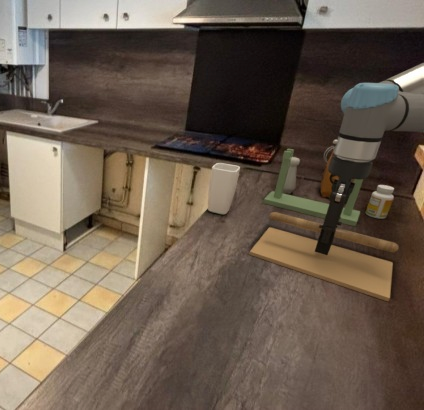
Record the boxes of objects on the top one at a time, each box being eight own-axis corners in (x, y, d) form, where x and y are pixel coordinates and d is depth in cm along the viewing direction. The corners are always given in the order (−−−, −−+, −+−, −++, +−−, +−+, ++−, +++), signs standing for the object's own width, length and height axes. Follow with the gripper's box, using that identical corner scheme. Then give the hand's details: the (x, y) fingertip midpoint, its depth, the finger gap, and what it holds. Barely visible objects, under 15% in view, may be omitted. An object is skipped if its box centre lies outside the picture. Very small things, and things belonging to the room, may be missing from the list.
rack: (358, 215, 113) (378, 161, 106) (355, 226, 106) (376, 168, 99) (271, 195, 128) (283, 145, 121) (263, 203, 121) (275, 151, 114)
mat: (391, 265, 87) (392, 262, 86) (388, 302, 74) (390, 298, 74) (268, 230, 103) (269, 227, 103) (248, 254, 91) (249, 251, 90)
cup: (203, 212, 114) (210, 167, 108) (209, 204, 119) (217, 162, 113) (226, 218, 110) (235, 172, 104) (232, 210, 116) (241, 166, 110)
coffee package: (314, 196, 128) (333, 135, 119) (319, 186, 137) (337, 129, 128) (348, 203, 123) (369, 140, 114) (350, 193, 132) (371, 133, 123)
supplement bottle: (384, 214, 115) (395, 186, 111) (387, 220, 110) (398, 191, 107) (364, 210, 117) (374, 182, 113) (365, 216, 113) (376, 187, 109)
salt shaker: (277, 187, 135) (285, 154, 130) (294, 190, 133) (303, 157, 127) (275, 192, 131) (284, 158, 125) (293, 195, 128) (302, 161, 123)
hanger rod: (396, 251, 79) (400, 242, 78) (396, 255, 77) (400, 246, 77) (270, 217, 94) (271, 209, 93) (267, 220, 93) (269, 212, 92)
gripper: (337, 148, 86) (310, 234, 95) (326, 161, 75) (298, 257, 84) (376, 153, 81) (344, 243, 91) (371, 169, 71) (335, 269, 80)
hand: (322, 250), depth 88 cm, fingers closed on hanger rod, 2 cm apart
